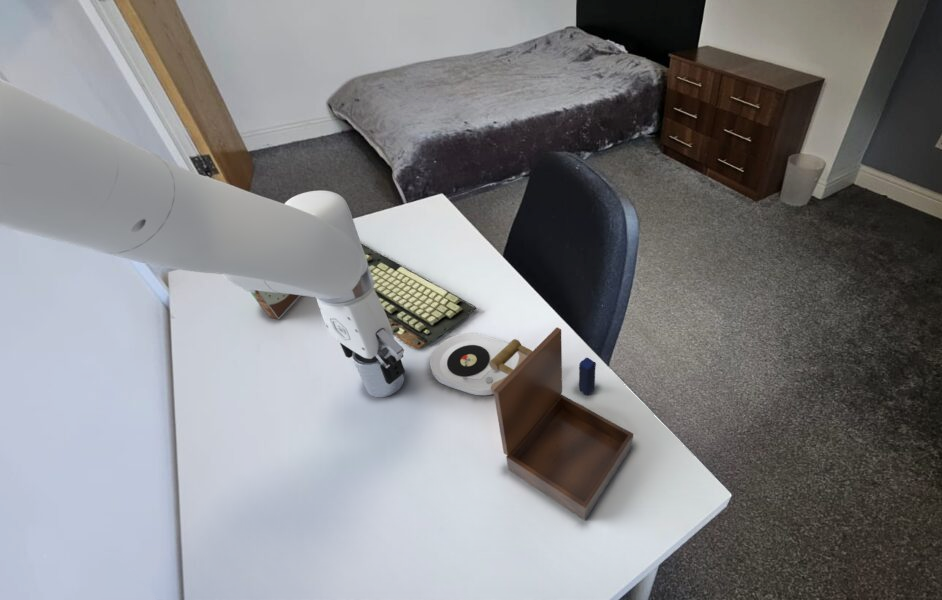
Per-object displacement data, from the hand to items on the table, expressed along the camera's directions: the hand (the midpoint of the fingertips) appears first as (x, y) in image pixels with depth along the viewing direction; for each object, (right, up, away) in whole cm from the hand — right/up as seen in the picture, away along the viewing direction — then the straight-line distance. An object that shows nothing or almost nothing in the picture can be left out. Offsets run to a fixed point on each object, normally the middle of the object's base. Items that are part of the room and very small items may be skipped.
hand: (375, 364), depth 75 cm
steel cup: (0, -4, +4) cm, 5 cm away
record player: (+17, -2, +7) cm, 18 cm away
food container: (-28, +10, +19) cm, 35 cm away
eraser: (+34, -5, +4) cm, 35 cm away
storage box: (+32, -13, -6) cm, 35 cm away
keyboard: (-10, +13, +23) cm, 28 cm away
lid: (+27, -2, -11) cm, 29 cm away
